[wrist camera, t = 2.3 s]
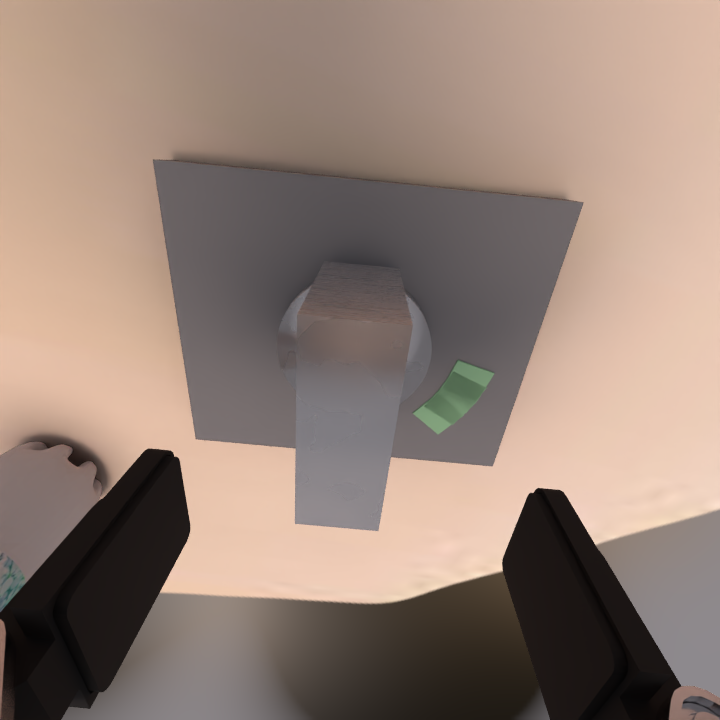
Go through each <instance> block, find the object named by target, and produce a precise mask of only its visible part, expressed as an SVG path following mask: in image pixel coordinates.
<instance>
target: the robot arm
mask: <svg viewBox="0 0 720 720" xmlns="http://www.w3.org/2000/svg"><path fill="white" fill-rule="evenodd" d="M189 533H190V521H189V515H188V509H187V503H186V497H185V491H184V485H183V479H182V472H181V466H180V461H179V458H178V457H174V454H173V452H172V451H169V450H159V449H147V450H145V451H144V452H143V453H142V454H141V456H140V457H139V458H138V459H137V460H136V461H135V462H134V464H133V465H132V466H131V467H130V468H129V469H128V471H127V472H126V473H125V474H124V475H123V476H122V477H121V479H120V480H119V481H118V482H117V483H116V484H115V486H114V487H113V488H112V489H111V490H110V491H109V492H108V494H107V495H106V496H105V497H104V498H103V499H101V500H99V501H98V502H97V503H96V504H95V505H94V506H93V507H92V508H91V509H90V510H89V512H88V513H87V514H86V515H85V516H84V517H83V518H82V519H81V521H80V522H79V523H78V524H77V525H76V526H75V527H74V529H73V530H72V531H71V532H70V533H69V534H68V535H67V537H66V538H65V539H64V540H63V541H62V542H61V543H60V545H59V546H58V547H57V548H56V549H55V550H54V551H53V553H52V554H51V555H50V556H49V557H48V558H47V559H46V561H45V562H44V563H43V564H42V565H41V566H40V567H39V569H38V570H37V571H36V572H35V573H34V574H33V575H32V577H31V578H30V579H29V580H28V581H27V582H26V583H25V585H24V586H23V587H22V588H21V589H20V590H19V591H18V593H17V594H16V595H15V596H14V597H13V598H12V599H11V600H10V602H9V603H8V604H7V605H6V606H5V607H4V608H3V610H2V611H1V612H0V720H61V719H62V717H63V715H64V714H65V712H66V710H67V709H68V707H79V708H88V709H90V708H91V705H92V704H93V702H94V700H95V698H96V697H97V695H98V693H99V692H104V691H105V690H106V689H107V688H108V687H109V685H110V684H111V682H112V681H113V679H114V677H115V675H116V673H117V671H118V669H119V668H120V666H121V664H122V662H123V660H124V658H125V656H126V654H127V653H128V651H129V649H130V647H131V645H132V643H133V641H134V639H135V638H136V636H137V634H138V632H139V630H140V628H141V626H142V624H143V623H144V621H145V619H146V617H147V615H148V613H149V611H150V609H151V608H152V605H153V604H154V602H155V600H156V598H157V596H158V594H159V592H160V591H161V589H162V587H163V585H164V583H165V581H166V579H167V577H168V576H169V574H170V572H171V570H172V568H173V566H174V564H175V562H176V560H177V559H178V557H179V555H180V553H181V551H182V549H183V547H184V545H185V544H186V542H187V539H188V537H189ZM502 566H503V573H504V575H505V579H506V582H507V585H508V589H509V591H510V595H511V598H512V601H513V604H514V607H515V611H516V614H517V617H518V620H519V623H520V626H521V629H522V632H523V636H524V639H525V642H526V645H527V648H528V651H529V654H530V658H531V661H532V664H533V667H534V670H535V673H536V676H537V680H538V682H539V686H540V688H541V692H542V695H543V698H544V702H545V705H546V708H547V711H548V714H549V717H550V720H720V698H719V697H717V696H715V695H714V694H712V693H710V692H709V691H707V690H704V689H701V688H698V687H695V686H681V685H680V683H679V681H678V680H677V678H676V676H675V675H674V673H673V671H672V670H671V668H670V666H669V665H668V663H667V661H666V660H665V658H664V656H663V655H662V653H661V651H660V650H659V648H658V646H657V645H656V643H655V641H654V640H653V638H652V636H651V635H650V633H649V631H648V630H647V628H646V626H645V625H644V623H643V621H642V620H641V618H640V616H639V615H638V613H637V611H636V610H635V608H634V606H633V604H632V603H631V601H630V600H629V598H628V596H627V595H626V593H625V591H624V590H623V588H622V586H621V585H620V583H619V581H618V579H617V578H616V576H615V575H614V573H613V571H612V569H611V568H610V566H609V565H608V563H607V561H606V560H605V558H604V556H603V555H602V554H601V553H600V551H599V550H598V549H597V547H596V545H595V544H594V542H593V540H592V539H591V537H590V535H589V534H588V532H587V530H586V529H585V527H584V525H583V524H582V522H581V520H580V519H579V517H578V515H577V513H576V512H575V510H574V508H573V507H572V505H571V503H570V502H569V500H568V498H567V497H566V495H565V494H564V492H562V491H561V490H553V489H543V488H537V489H536V490H535V492H534V493H530V494H529V495H528V497H527V499H526V502H525V504H524V507H523V509H522V512H521V514H520V517H519V519H518V522H517V524H516V527H515V529H514V532H513V534H512V537H511V539H510V542H509V544H508V547H507V549H506V552H505V554H504V557H503V562H502Z"/></svg>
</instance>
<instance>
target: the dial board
mask: <svg viewBox="0 0 720 720" xmlns="http://www.w3.org/2000/svg"><path fill="white" fill-rule="evenodd" d="M153 164H154V170H155V177H156V183H157V190H158V196H159V203H160V209H161V216H162V222H163V229H164V235H165V242H166V248H167V255H168V261H169V268H170V274H171V281H172V287H173V294H174V300H175V307H176V313H177V320H178V326H179V333H180V339H181V346H182V352H183V359H184V365H185V372H186V378H187V385H188V391H189V398H190V404H191V411H192V417H193V424H194V430H195V437H196V439H199V440H210V441H221V442H232V443H243V444H254V445H265V446H275V447H286V448H296V391H295V389H294V388H293V387H292V386H291V385H290V383H289V382H288V381H287V379H286V377H285V375H284V373H283V371H282V369H281V366H280V364H279V359H278V355H277V335H278V330H279V326H280V324H281V321H282V318H283V317H284V315H285V313H286V311H287V309H288V308H289V306H290V304H291V303H292V301H293V300H294V299H295V297H296V296H297V295H298V294H299V293H300V292H301V291H302V290H303V289H304V288H305V287H307V286H308V285H309V284H311V283H312V282H314V281H315V279H316V277H317V275H318V273H319V271H320V269H321V267H322V265H323V263H324V262H325V261H327V262H337V263H348V264H358V265H368V266H379V267H389V268H399V271H400V275H401V279H402V283H403V287H404V289H405V290H406V291H407V292H408V293H409V294H410V295H411V296H412V297H413V298H414V299H415V301H416V302H417V303H418V305H419V306H420V308H421V310H422V312H423V314H424V316H425V319H426V322H427V325H428V328H429V332H430V336H431V342H432V353H431V361H430V364H429V368H428V371H427V373H426V375H425V378H424V379H423V381H422V382H421V384H420V386H419V387H418V388H417V389H416V390H415V392H414V393H413V394H412V395H410V396H409V397H408V398H407V399H406V400H404V401H403V402H402V403H400V405H399V411H398V417H397V423H396V429H395V435H394V441H393V447H392V453H391V457H396V458H407V459H418V460H428V461H439V462H450V463H461V464H472V465H483V466H493V464H494V461H495V458H496V455H497V452H498V449H499V446H500V443H501V440H502V438H503V435H504V432H505V429H506V426H507V423H508V420H509V417H510V414H511V411H512V409H513V406H514V403H515V400H516V397H517V394H518V391H519V388H520V385H521V383H522V380H523V377H524V374H525V371H526V368H527V365H528V362H529V359H530V356H531V354H532V351H533V348H534V345H535V342H536V339H537V336H538V333H539V330H540V327H541V325H542V322H543V319H544V316H545V313H546V310H547V307H548V304H549V301H550V298H551V296H552V293H553V290H554V287H555V284H556V281H557V278H558V275H559V272H560V269H561V267H562V264H563V261H564V258H565V255H566V252H567V249H568V246H569V243H570V240H571V238H572V235H573V232H574V229H575V226H576V223H577V220H578V217H579V214H580V211H581V209H582V206H583V202H577V201H571V200H564V199H554V198H545V197H535V196H525V195H515V194H505V193H495V192H485V191H475V190H465V189H455V188H445V187H435V186H425V185H415V184H405V183H395V182H385V181H375V180H365V179H355V178H345V177H335V176H325V175H315V174H305V173H295V172H285V171H275V170H265V169H255V168H245V167H235V166H225V165H215V164H205V163H196V162H186V161H176V160H153Z"/></svg>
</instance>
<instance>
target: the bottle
mask: <svg viewBox="0 0 720 720" xmlns="http://www.w3.org/2000/svg"><path fill="white" fill-rule="evenodd" d="M72 452H73V449H72V448H71V447H69V446H67V445H63V444H61V445H56V446H54V447H51V448H47V446H46V445H45V444H44V443H42V442H29V443H26V444H22V445H19V446H17V447H15V448H13V449H11V450H9V451H7V452H5V453H4V454H2V455H1V456H0V612H1V611H2V610H3V608H4V607H5V606H6V605H7V604H8V603H9V602H10V600H11V599H12V598H13V597H14V596H15V595H16V594H17V593H18V591H19V590H20V589H21V588H22V587H23V586H24V585H25V583H26V582H27V581H28V580H29V579H30V578H31V577H32V575H33V574H34V573H35V572H36V571H37V570H38V569H39V567H40V566H41V565H42V564H43V563H44V562H45V561H46V559H47V558H48V557H49V556H50V555H51V554H52V553H53V551H54V550H55V549H56V548H57V547H58V546H59V545H60V543H61V542H62V541H63V540H64V539H65V538H66V537H67V535H68V534H69V533H70V532H71V531H72V530H73V529H74V527H75V526H76V525H77V524H78V523H79V522H80V521H81V519H82V518H83V517H84V516H85V515H86V514H87V513H88V512H89V510H90V509H91V508H92V507H93V506H94V505H95V504H96V503H97V502H98V501H99V498H100V496H101V492H102V485H101V483H100V482H99V481H98V480H97V479H94V478H95V475H96V472H97V468H96V466H95V465H94V464H93V462H92V461H86V462H84V463H82V464H81V465H80V466H79V467H77V466H75V465H73V464H72V463H70V462H69V461H68V457H69V456H70V455H71V453H72Z"/></svg>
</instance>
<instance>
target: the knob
mask: <svg viewBox="0 0 720 720" xmlns="http://www.w3.org/2000/svg"><path fill="white" fill-rule="evenodd" d="M431 353H432V342H431V336H430V332H429V328H428V325H427V322H426V319H425V316H424V314H423V312H422V310H421V308H420V306H419V305H418V303H417V302H416V301H415V299H414V298H413V297H412V296H411V295H410V294H409V293H408V292H407V291H406V290H405V289H404V287H403V283H402V279H401V275H400V271H399V268H389V267H379V266H368V265H358V264H348V263H337V262H327V261H325V262H324V263H323V265H322V267H321V269H320V271H319V273H318V275H317V277H316V279H315V281H314V282H312V283H311V284H309V285H308V286H307V287H305V288H304V289H303V290H302V291H301V292H300V293H299V294H298V295H297V296H296V297H295V299H294V300H293V301H292V303H291V304H290V306H289V308H288V309H287V311H286V313H285V315H284V317H283V318H282V321H281V324H280V326H279V330H278V335H277V355H278V359H279V364H280V366H281V369H282V371H283V373H284V375H285V377H286V379H287V381H288V382H289V383H290V385H291V386H292V387H293V388H294V389H295V391H296V473H295V524H305V525H316V526H328V527H339V528H350V529H361V530H372V531H378V530H379V524H380V518H381V512H382V506H383V500H384V494H385V488H386V482H387V476H388V470H389V464H390V458H391V453H392V447H393V441H394V435H395V429H396V423H397V417H398V411H399V405H400V403H402V402H403V401H404V400H406V399H407V398H408V397H409V396H410V395H412V394H413V393H414V392H415V390H416V389H417V388H418V387H419V386H420V384H421V382H422V381H423V379H424V378H425V375H426V373H427V371H428V368H429V364H430V361H431Z"/></svg>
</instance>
